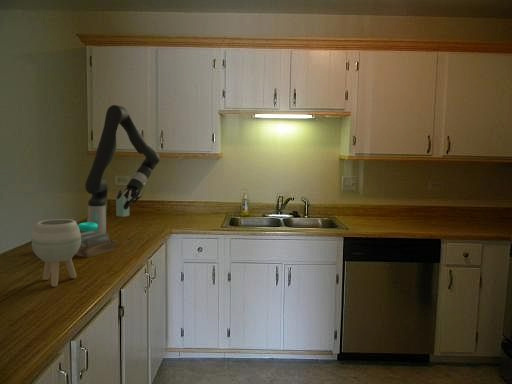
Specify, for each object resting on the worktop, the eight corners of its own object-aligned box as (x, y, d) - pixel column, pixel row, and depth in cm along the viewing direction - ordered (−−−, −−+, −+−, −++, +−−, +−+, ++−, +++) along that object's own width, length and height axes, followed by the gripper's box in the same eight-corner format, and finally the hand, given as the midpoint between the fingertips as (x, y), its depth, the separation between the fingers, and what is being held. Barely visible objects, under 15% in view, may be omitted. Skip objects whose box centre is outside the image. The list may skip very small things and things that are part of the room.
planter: (88, 275, 152) (87, 218, 150) (70, 289, 136) (69, 226, 134) (46, 274, 151) (45, 217, 149) (23, 288, 135) (21, 225, 133)
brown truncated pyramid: (61, 252, 183) (60, 236, 182) (90, 245, 198) (89, 229, 198) (87, 257, 176) (87, 240, 175) (115, 249, 191) (115, 233, 191)
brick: (116, 215, 196) (116, 199, 195) (122, 214, 200) (122, 198, 199) (123, 216, 194) (122, 199, 193) (129, 215, 198) (129, 199, 197)
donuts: (98, 221, 210) (96, 225, 201) (99, 239, 211) (96, 244, 202) (78, 222, 208) (75, 225, 198) (79, 240, 209) (75, 244, 199)
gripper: (123, 177, 205) (106, 202, 196) (144, 178, 200) (128, 204, 190) (130, 186, 211) (114, 211, 201) (151, 188, 205) (135, 213, 195)
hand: (121, 207), depth 195 cm, fingers closed on brick, 4 cm apart
